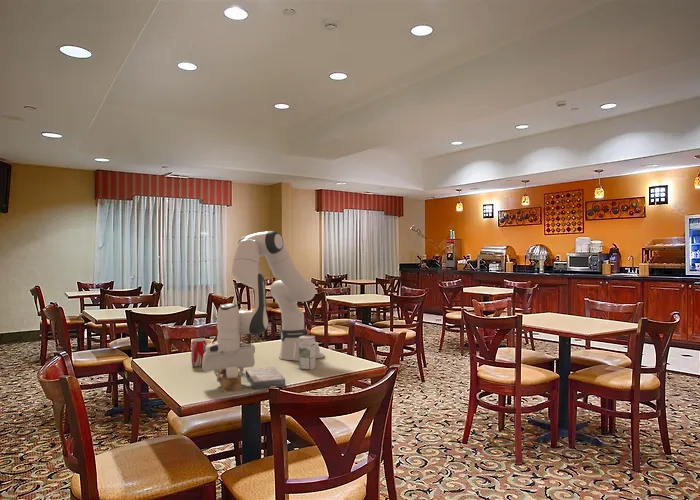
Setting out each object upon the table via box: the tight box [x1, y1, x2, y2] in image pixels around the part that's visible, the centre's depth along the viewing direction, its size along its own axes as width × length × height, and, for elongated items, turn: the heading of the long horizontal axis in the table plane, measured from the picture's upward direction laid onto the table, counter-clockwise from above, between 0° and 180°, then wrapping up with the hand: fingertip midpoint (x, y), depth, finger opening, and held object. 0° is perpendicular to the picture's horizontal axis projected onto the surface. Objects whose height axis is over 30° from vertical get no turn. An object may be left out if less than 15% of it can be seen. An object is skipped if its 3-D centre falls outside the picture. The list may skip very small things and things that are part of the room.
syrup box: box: [298, 335, 316, 371], centre depth 218 cm, size 6×6×14 cm
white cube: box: [226, 366, 239, 378], centre depth 187 cm, size 4×4×4 cm
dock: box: [245, 366, 286, 390], centre depth 197 cm, size 12×22×3 cm, turn 20°
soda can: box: [190, 338, 208, 368], centre depth 227 cm, size 7×7×12 cm
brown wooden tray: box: [217, 370, 242, 392], centre depth 193 cm, size 6×20×5 cm, turn 22°
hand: (228, 380), depth 193 cm, fingers closed on brown wooden tray, 6 cm apart
